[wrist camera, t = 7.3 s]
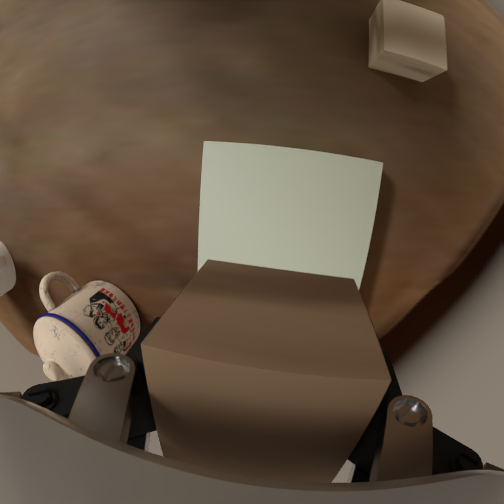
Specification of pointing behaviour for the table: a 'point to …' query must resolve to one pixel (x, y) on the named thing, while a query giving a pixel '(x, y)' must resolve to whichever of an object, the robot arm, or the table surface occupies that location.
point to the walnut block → (264, 372)
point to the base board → (287, 208)
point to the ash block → (407, 40)
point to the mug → (6, 270)
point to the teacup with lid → (83, 326)
